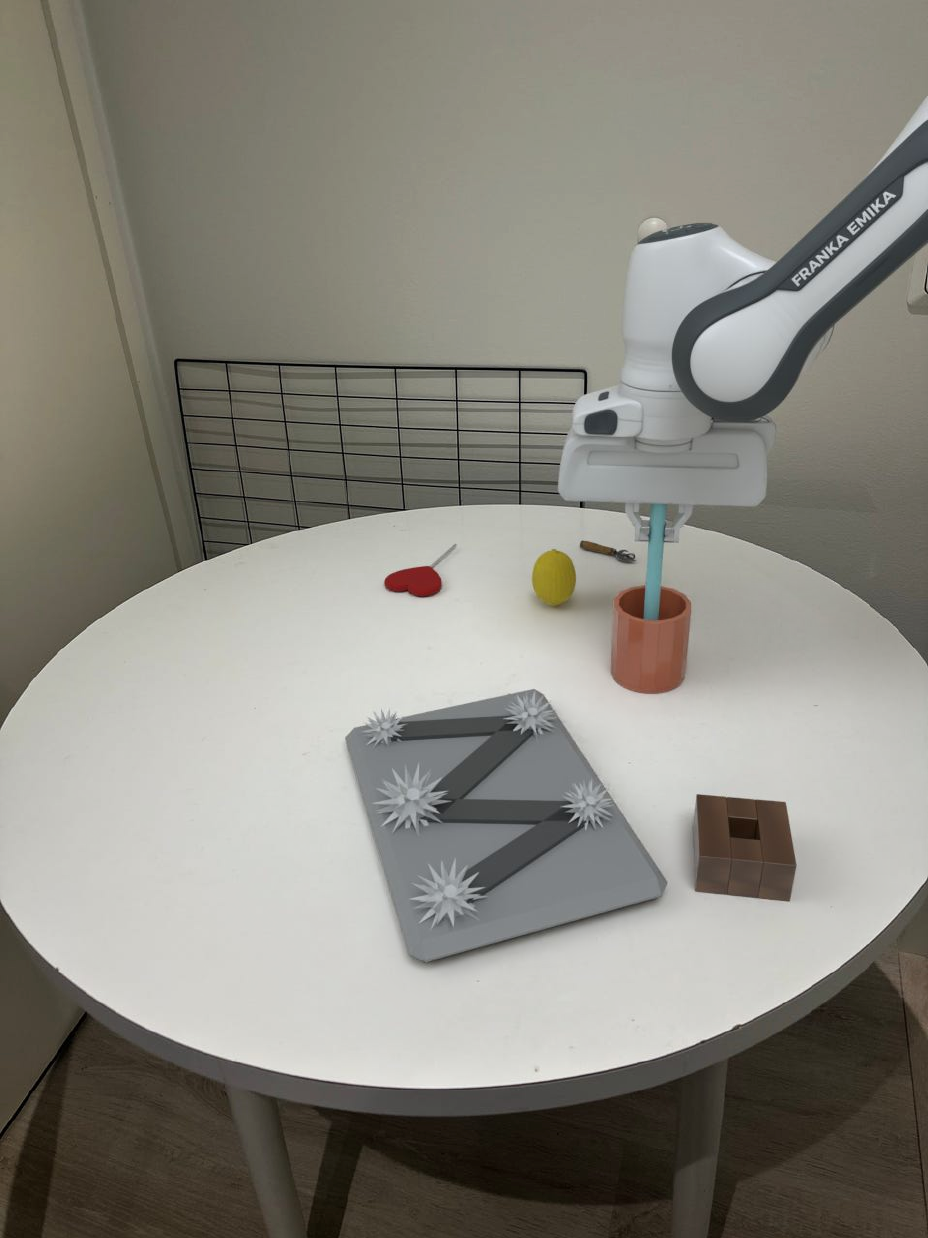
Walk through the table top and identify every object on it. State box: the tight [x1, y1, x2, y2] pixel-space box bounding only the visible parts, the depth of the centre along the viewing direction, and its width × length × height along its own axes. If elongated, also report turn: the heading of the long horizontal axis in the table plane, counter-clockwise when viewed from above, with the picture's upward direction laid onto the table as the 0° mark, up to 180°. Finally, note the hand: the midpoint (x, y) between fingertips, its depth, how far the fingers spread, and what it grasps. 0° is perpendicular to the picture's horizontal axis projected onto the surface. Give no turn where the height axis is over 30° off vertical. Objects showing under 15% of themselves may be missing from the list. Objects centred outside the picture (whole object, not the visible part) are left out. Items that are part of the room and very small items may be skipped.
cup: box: [610, 584, 693, 695], centre depth 98 cm, size 8×8×9 cm
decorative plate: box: [345, 688, 668, 963], centre depth 80 cm, size 30×22×7 cm
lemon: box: [531, 548, 577, 607], centre depth 113 cm, size 6×6×8 cm
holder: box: [692, 793, 798, 902], centre depth 75 cm, size 7×7×4 cm
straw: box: [643, 503, 668, 620], centre depth 94 cm, size 2×2×15 cm
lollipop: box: [383, 543, 457, 597], centre depth 125 cm, size 8×1×15 cm
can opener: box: [579, 540, 637, 563], centre depth 126 cm, size 9×2×1 cm, turn 49°
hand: (656, 539), depth 92 cm, fingers closed on straw, 1 cm apart
